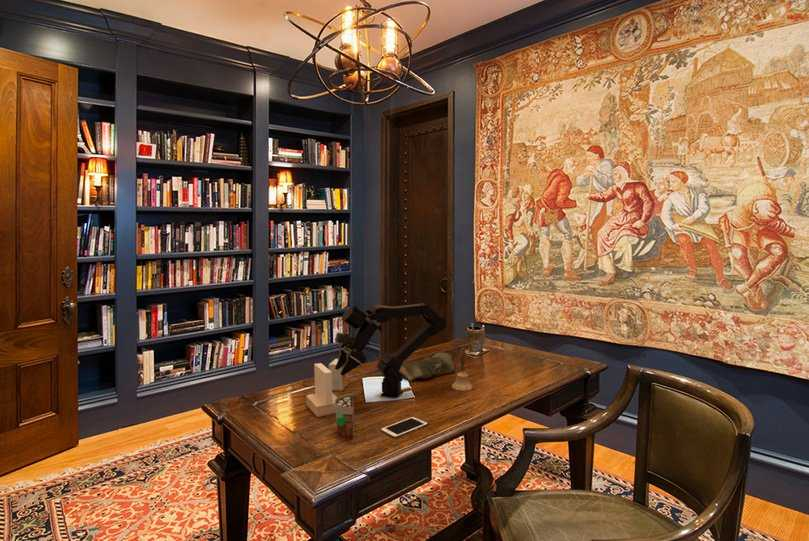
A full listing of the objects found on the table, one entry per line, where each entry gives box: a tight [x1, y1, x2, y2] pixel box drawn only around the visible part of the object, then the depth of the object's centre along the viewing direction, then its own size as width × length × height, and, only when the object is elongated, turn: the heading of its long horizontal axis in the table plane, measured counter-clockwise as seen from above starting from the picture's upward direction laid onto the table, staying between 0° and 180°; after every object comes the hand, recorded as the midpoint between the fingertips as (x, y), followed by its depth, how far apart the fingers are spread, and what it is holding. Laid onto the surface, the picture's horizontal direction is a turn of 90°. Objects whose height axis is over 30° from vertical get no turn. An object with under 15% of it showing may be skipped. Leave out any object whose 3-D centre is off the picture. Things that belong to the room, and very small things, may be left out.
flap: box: [305, 362, 338, 408], centre depth 162 cm, size 9×12×12 cm
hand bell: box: [451, 347, 474, 392], centre depth 182 cm, size 8×8×16 cm
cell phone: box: [379, 416, 429, 439], centre depth 147 cm, size 8×15×1 cm, turn 131°
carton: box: [305, 396, 336, 418], centre depth 163 cm, size 10×12×3 cm
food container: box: [333, 393, 355, 439], centre depth 144 cm, size 12×6×10 cm, turn 5°
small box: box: [328, 358, 349, 392], centre depth 183 cm, size 8×6×10 cm
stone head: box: [399, 352, 455, 382], centre depth 202 cm, size 19×8×28 cm
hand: (338, 372), depth 165 cm, fingers open, 9 cm apart
